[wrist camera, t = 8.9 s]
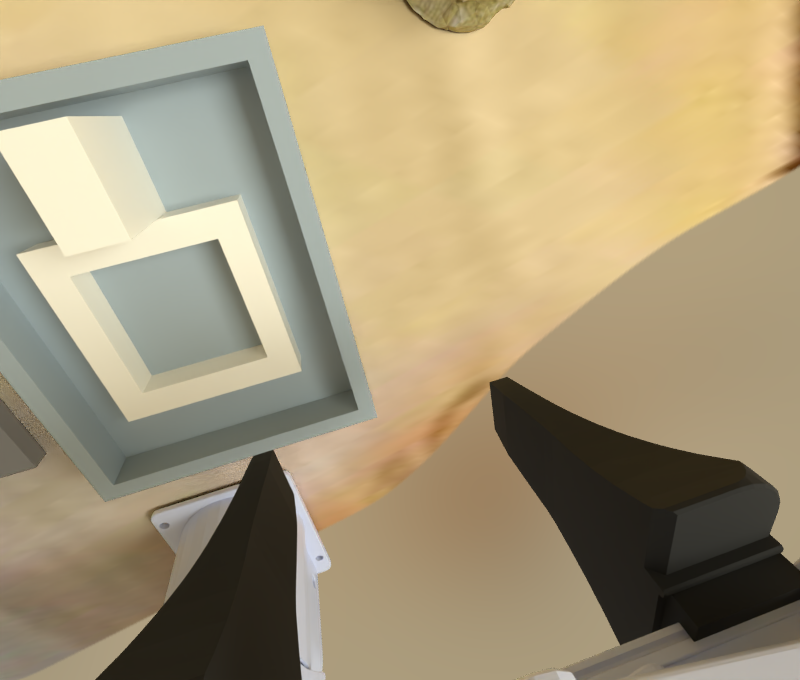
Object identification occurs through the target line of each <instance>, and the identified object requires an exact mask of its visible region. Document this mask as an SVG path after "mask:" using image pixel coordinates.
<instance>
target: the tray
mask: <svg viewBox="0 0 800 680" xmlns="http://www.w3.org/2000/svg"><path fill="white" fill-rule="evenodd" d="M66 116H122V118H123V120H124V122H125V124H126V126H127V128H128V131H129V133H130V135H131V137H132V139H133V141H134V143H135V146H136V148H137V150H138V152H139V154H140V156H141V158H142V161H143V163H144V165H145V167H146V169H147V171H148V173H149V176H150V178H151V180H152V182H153V184H154V186H155V188H156V191H157V193H158V195H159V197H160V199H161V201H162V204H163V206H164V208H165V210H166V212H169V211H173V210H177V209H181V208H185V207H189V206H193V205H197V204H201V203H205V202H210V201H214V200H218V199H222V198H226V197H230V196H234V195H238V194H241V196H242V199H243V202H244V204H245V207H246V210H247V213H248V215H249V218H250V221H251V223H252V226H253V229H254V231H255V234H256V237H257V239H258V242H259V245H260V247H261V250H262V253H263V256H264V258H265V261H266V264H267V266H268V269H269V272H270V274H271V277H272V280H273V282H274V285H275V288H276V290H277V293H278V296H279V299H280V301H281V304H282V307H283V309H284V312H285V315H286V317H287V320H288V323H289V325H290V328H291V331H292V333H293V336H294V339H295V341H296V344H297V347H298V350H299V352H300V355H301V368H302V371H300V372H297V373H294V374H290V375H287V376H283V377H280V378H277V379H273V380H270V381H266V382H263V383H260V384H256V385H253V386H249V387H246V388H243V389H239V390H236V391H232V392H229V393H226V394H222V395H219V396H215V397H212V398H209V399H205V400H202V401H198V402H195V403H191V404H188V405H185V406H181V407H178V408H174V409H171V410H168V411H164V412H161V413H157V414H154V415H151V416H147V417H144V418H140V419H137V420H134V421H130V422H128V420H127V419H126V417H125V416H124V414H123V413H122V411H121V410H120V408H119V407H118V405H117V404H116V402H115V401H114V399H113V398H112V397H111V395H110V394H109V392H108V391H107V389H106V388H105V386H104V385H103V383H102V382H101V380H100V379H99V377H98V376H97V374H96V373H95V371H94V370H93V368H92V367H91V365H90V364H89V362H88V361H87V359H86V358H85V356H84V355H83V353H82V352H81V350H80V349H79V348H78V346H77V345H76V343H75V342H74V340H73V339H72V337H71V336H70V334H69V333H68V331H67V330H66V328H65V327H64V325H63V324H62V322H61V321H60V319H59V318H58V316H57V315H56V313H55V312H54V310H53V309H52V307H51V306H50V304H49V303H48V301H47V300H46V299H45V297H44V296H43V294H42V293H41V291H40V290H39V288H38V287H37V285H36V284H35V282H34V281H33V279H32V278H31V276H30V275H29V273H28V272H27V270H26V269H25V267H24V266H23V264H22V263H21V261H20V260H19V258H18V257H17V254H18V253H20V252H22V251H24V250H26V249H28V248H30V247H32V246H34V245H36V244H39V243H43V242H47V241H51V240H54V238H53V236H52V235H51V233H50V231H49V230H48V228H47V227H46V225H45V223H44V222H43V220H42V218H41V217H40V215H39V214H38V212H37V210H36V209H35V207H34V205H33V204H32V202H31V201H30V199H29V197H28V196H27V194H26V192H25V191H24V189H23V188H22V186H21V184H20V183H19V181H18V179H17V178H16V176H15V175H14V173H13V171H12V170H11V168H10V166H9V165H8V163H7V162H6V160H5V158H4V157H3V155H2V153H1V152H0V373H1V374H2V375H3V376H4V377H5V379H6V380H7V381H8V382H9V384H10V385H11V386H12V387H13V389H14V390H15V391H16V392H17V394H18V395H19V396H20V397H21V398H22V400H23V401H24V402H25V403H26V405H27V406H28V407H29V408H30V410H31V411H32V412H33V413H34V415H35V416H36V417H37V418H38V420H39V421H40V422H41V423H42V424H43V426H44V427H45V428H46V429H47V431H48V432H49V433H50V434H51V436H52V437H53V438H54V439H55V441H56V442H57V443H58V444H59V445H60V447H61V448H62V449H63V450H64V452H65V453H66V454H67V455H68V457H69V458H70V459H71V460H72V462H73V463H74V464H75V465H76V467H77V468H78V469H79V470H80V471H81V473H82V474H83V475H84V476H85V478H86V479H87V480H88V481H89V483H90V484H91V485H92V486H93V488H94V489H95V490H96V491H97V492H98V494H99V495H100V496H101V497H102V499H103V500H104V501H105V502H107V501H110V500H113V499H116V498H120V497H123V496H126V495H129V494H132V493H136V492H139V491H142V490H145V489H148V488H152V487H155V486H158V485H161V484H165V483H168V482H171V481H174V480H177V479H181V478H184V477H187V476H190V475H193V474H197V473H200V472H203V471H206V470H210V469H213V468H216V467H219V466H222V465H226V464H229V463H232V462H235V461H238V460H242V459H245V458H248V457H251V456H255V455H258V454H261V453H264V452H267V451H271V450H274V449H277V448H280V447H283V446H287V445H290V444H293V443H296V442H300V441H303V440H306V439H309V438H312V437H316V436H319V435H322V434H325V433H328V432H332V431H335V430H338V429H341V428H345V427H348V426H351V425H354V424H357V423H361V422H364V421H367V420H370V419H373V418H377V414H376V411H375V407H374V404H373V400H372V397H371V394H370V390H369V387H368V383H367V380H366V376H365V373H364V370H363V366H362V363H361V359H360V356H359V352H358V349H357V345H356V342H355V339H354V335H353V332H352V328H351V325H350V321H349V318H348V315H347V311H346V308H345V304H344V301H343V297H342V294H341V290H340V287H339V284H338V280H337V277H336V273H335V270H334V266H333V263H332V260H331V256H330V253H329V249H328V246H327V242H326V239H325V235H324V232H323V229H322V225H321V222H320V218H319V215H318V211H317V208H316V205H315V201H314V198H313V194H312V191H311V187H310V184H309V180H308V177H307V174H306V170H305V167H304V163H303V160H302V156H301V153H300V150H299V146H298V143H297V139H296V136H295V132H294V129H293V125H292V122H291V119H290V115H289V112H288V108H287V105H286V101H285V98H284V95H283V91H282V88H281V84H280V81H279V77H278V74H277V70H276V67H275V64H274V60H273V57H272V53H271V50H270V46H269V43H268V40H267V36H266V33H265V29H264V26H259V27H255V28H250V29H245V30H240V31H235V32H230V33H225V34H221V35H216V36H211V37H206V38H201V39H196V40H192V41H187V42H182V43H177V44H172V45H167V46H162V47H158V48H153V49H148V50H143V51H138V52H133V53H129V54H124V55H119V56H114V57H109V58H104V59H100V60H95V61H90V62H85V63H80V64H75V65H70V66H66V67H61V68H56V69H51V70H46V71H41V72H37V73H32V74H27V75H22V76H17V77H12V78H7V79H3V80H0V131H2V130H6V129H11V128H15V127H20V126H25V125H29V124H34V123H38V122H43V121H48V120H52V119H57V118H61V117H66ZM90 273H91V274H92V276H93V278H94V279H95V281H96V283H97V284H98V286H99V288H100V289H101V291H102V293H103V294H104V296H105V298H106V299H107V301H108V303H109V305H110V306H111V308H112V310H113V311H114V313H115V315H116V316H117V318H118V320H119V321H120V323H121V325H122V326H123V328H124V330H125V331H126V333H127V335H128V336H129V338H130V340H131V341H132V343H133V345H134V346H135V348H136V350H137V352H138V353H139V355H140V357H141V358H142V360H143V362H144V363H145V365H146V367H147V368H148V370H149V372H150V373H151V375H156V374H159V373H163V372H166V371H170V370H173V369H177V368H180V367H184V366H187V365H191V364H194V363H198V362H201V361H205V360H208V359H212V358H215V357H219V356H222V355H226V354H229V353H233V352H236V351H240V350H243V349H247V348H251V347H254V346H258V345H261V344H262V342H261V340H260V338H259V335H258V333H257V330H256V328H255V326H254V323H253V321H252V319H251V316H250V314H249V311H248V309H247V307H246V304H245V302H244V299H243V297H242V295H241V292H240V290H239V287H238V285H237V283H236V280H235V278H234V276H233V273H232V271H231V268H230V266H229V264H228V261H227V259H226V256H225V254H224V252H223V249H222V247H221V245H220V242H219V240H218V239H215V240H211V241H207V242H203V243H199V244H195V245H191V246H187V247H184V248H180V249H176V250H172V251H168V252H164V253H160V254H156V255H152V256H148V257H144V258H141V259H137V260H133V261H129V262H125V263H121V264H117V265H113V266H109V267H105V268H101V269H97V270H94V271H90Z"/></svg>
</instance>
